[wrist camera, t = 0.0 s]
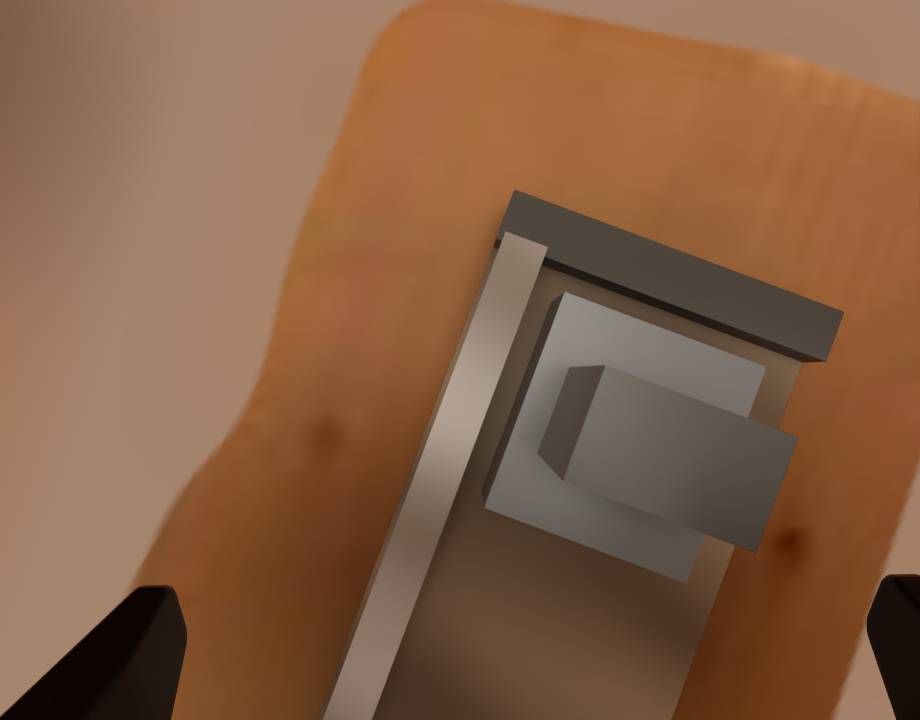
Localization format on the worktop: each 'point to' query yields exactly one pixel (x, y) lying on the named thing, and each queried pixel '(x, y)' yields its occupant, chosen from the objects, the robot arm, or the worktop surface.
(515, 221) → the rail
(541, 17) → the worktop surface
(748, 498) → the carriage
